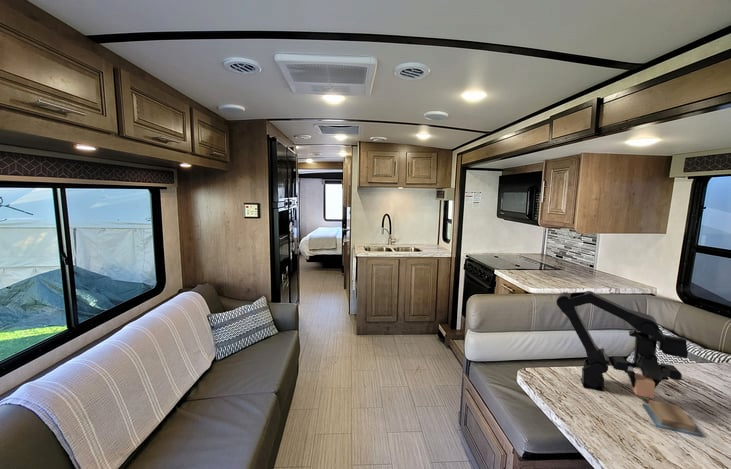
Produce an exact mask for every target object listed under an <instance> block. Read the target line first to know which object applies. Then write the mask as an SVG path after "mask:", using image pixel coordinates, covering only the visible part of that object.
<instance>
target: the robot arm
mask: <svg viewBox="0 0 731 469" xmlns="http://www.w3.org/2000/svg"><path fill="white" fill-rule="evenodd" d="M587 304H591V305H593V306H595V307H597V308H599V309H601V310H603V311H605V312H607V313H609V314H611V315H613V316H615V317H617V318H618V319H621V320H623V321H624V322H626V323H628V324H629V325H630V326H631V327H633V329H631V330H629V331H628V335H629V336H630V337H631V338H632V337H634V338H635V339H634V347H633V348H632V349H633V352H634V353H633V357H632V362H631V361H626V359H625V357H621V356H616V355H615V356H614V355H612V356H610V357H609V355H607V353H606V351H605V349H604V348H603V347H602V348H599V346H598V345H597V344H596V343H595V341H594V339H593V337H592V336H591V334H590V331H589V330H588V328H587V327H586V324H585V322H584V321H583V319H582V316H581V315H580V314H579V313H580V312H579V310H578V307H579V306H583V305H587ZM556 305H557V307H558V308H559V309H560V311H561V312H562V313H563V314H564V315H565V316H566V317H567V318H568V320H569V322H570V324H571V326H572V328H573V329H574V331H575V333H576V335H577V337H578V338H579V341H580V342H581V344H582V345H583V346H582V347H583V348H584V350H585V353H586V357H587V358H586V359H584V360H583V365H582V366H583V367H581V378H580V381H581V385H582V386H583V388H584V389H588V390H589V389H590V390H594V391H598V392H604V388H605V377H604V375H603V374H605V373H607V372H608V371H609V365H610V364H611V366H612V367H613V369H614V370H616V371H621V372H622V371H623V372H624V373H626V374H627V377H628V379H629V382H630V386H631V385H632V387H634V386H635V378H634V376H635V373H636V372H635V371H634V369H637V370H640V371H641V374H643V376H644V377H645V378H652V380H653V381H654V382H655V389H656V388H657V386H658V385H659V384H660V383H661V382H662V381H668V380H676V381H682V378H683V377H682V376H683V374H682V373H681V371H680V370H679V369H677V367H676V366H674V365H673V364H668V363H667V364H666V363H659V362H658V356H657V346H658V350H659V351H661V352H662V354H663V355H668V356H673V357H677V358H682V359H687V358H688V355H689V350H688V345H687V338H685V337H680V336H672V335H668V334H667V335H666V334H664V332H663V330H661V328H659V324H658V322H657V319H656V317H654V316H652V315H650V314H647V313H643V312H640V311H636V310H631V309H629V308H626V307H624V306H622V305H620V304H619V303H616V302H613V301H611V300H610V299H607V298H606V297H603V296H601V295H599V294H596V293H595V292H594V291H591V290H587V291H579V292H578V291H577V292H561V293H560V294H558V297H557V299H556ZM657 343H658V345H657Z"/></svg>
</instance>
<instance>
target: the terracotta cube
mask: <svg viewBox="0 0 731 469" xmlns="http://www.w3.org/2000/svg"><path fill="white" fill-rule="evenodd" d="M634 378H635V386H634V387H632V385H631V384H630V388H631V389H632V391H633V393H634V394H635V396H640V397H645V398H651V399H654V398H655V389H656V388H655V382H654V381H653V380H652V378H645V377H644V376H643V374H642V373H636V372H635V376H634Z"/></svg>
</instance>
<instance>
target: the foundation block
mask: <svg viewBox="0 0 731 469" xmlns="http://www.w3.org/2000/svg"><path fill="white" fill-rule="evenodd" d="M641 404H642V405H641V406H642V407H643V409H644V411H645V412H646V413H647V415H648V417H649V418H650V420H651V421H652V423H653V424H654V426H655V427H656V428H660V429H665V430H669V431H674V432H677V433H682V434H687V435H690V436H691V435H692V436H695V437H699V438H703V434H702V432H701V431H700V430H699V429H698V427H697V426H696V425H695V423H694V422H693V421H692V420H691V418H689V416H688V415H687V414H686V413H685V411H684V410H683V408H681V406H680V405H676V404H672V403H667V402H660V401H655V400H651V399H649V400H648V403H641Z"/></svg>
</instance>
